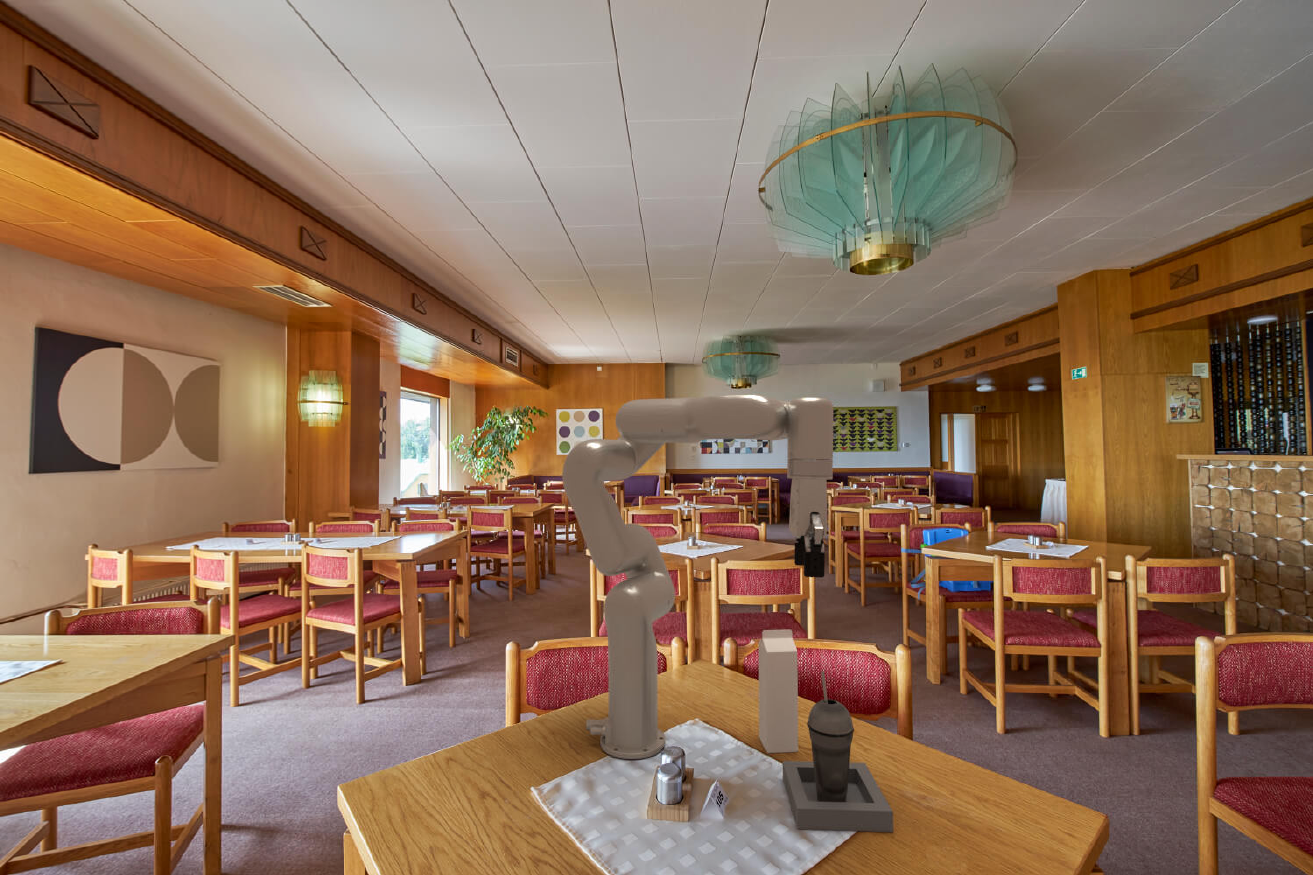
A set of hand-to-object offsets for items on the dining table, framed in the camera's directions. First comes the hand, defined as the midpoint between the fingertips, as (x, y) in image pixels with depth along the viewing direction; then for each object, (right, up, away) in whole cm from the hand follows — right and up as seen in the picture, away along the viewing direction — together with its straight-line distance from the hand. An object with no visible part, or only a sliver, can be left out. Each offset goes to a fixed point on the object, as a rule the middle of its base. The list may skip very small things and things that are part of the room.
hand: (808, 570), depth 101 cm
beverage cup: (+2, -36, -6) cm, 36 cm away
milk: (-2, -37, +14) cm, 39 cm away
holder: (+3, -36, -6) cm, 37 cm away
